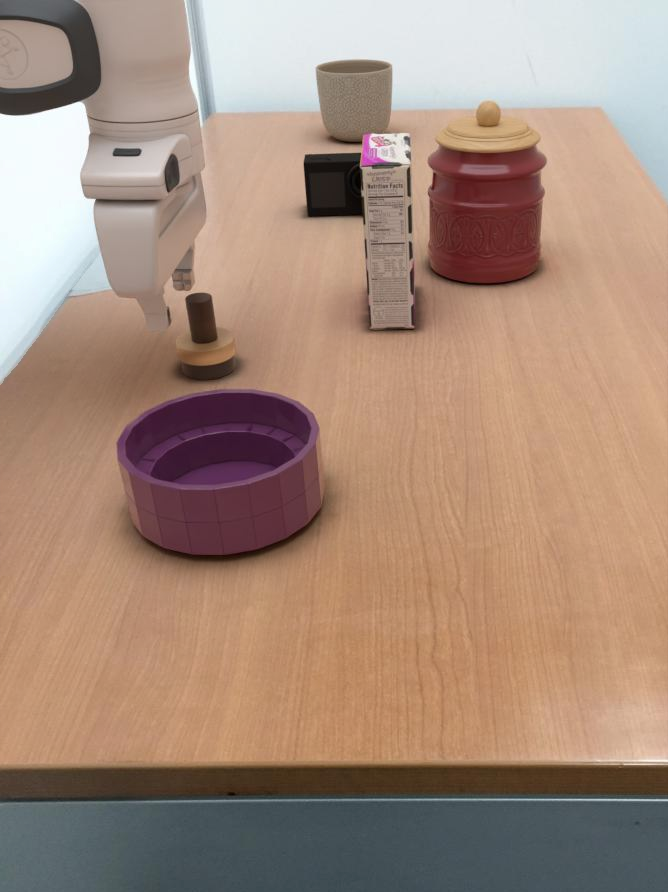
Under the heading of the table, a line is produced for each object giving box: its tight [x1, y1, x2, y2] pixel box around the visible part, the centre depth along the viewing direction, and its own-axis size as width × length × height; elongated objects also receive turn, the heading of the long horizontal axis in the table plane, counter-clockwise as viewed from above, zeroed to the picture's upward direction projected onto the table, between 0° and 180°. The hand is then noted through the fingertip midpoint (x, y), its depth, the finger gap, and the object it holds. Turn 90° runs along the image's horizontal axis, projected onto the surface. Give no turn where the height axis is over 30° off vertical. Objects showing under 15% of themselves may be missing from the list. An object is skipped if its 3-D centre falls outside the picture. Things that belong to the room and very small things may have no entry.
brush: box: [175, 292, 237, 381], centre depth 88 cm, size 5×5×7 cm
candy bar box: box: [360, 132, 416, 331], centre depth 96 cm, size 11×5×16 cm, turn 0°
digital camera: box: [303, 152, 363, 217], centre depth 126 cm, size 10×5×7 cm, turn 92°
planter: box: [315, 58, 393, 143], centre depth 157 cm, size 12×12×11 cm
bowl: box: [115, 388, 326, 556], centre depth 70 cm, size 14×14×6 cm
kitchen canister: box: [427, 100, 548, 284], centre depth 106 cm, size 13×13×18 cm
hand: (173, 307), depth 87 cm, fingers open, 8 cm apart
